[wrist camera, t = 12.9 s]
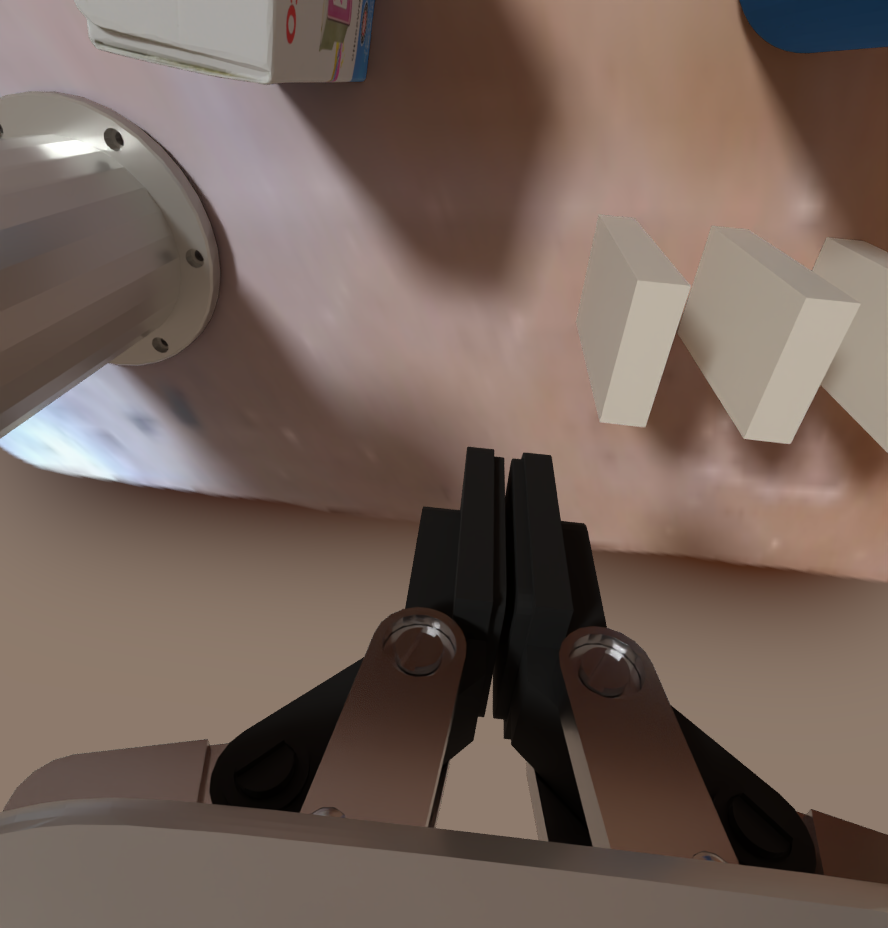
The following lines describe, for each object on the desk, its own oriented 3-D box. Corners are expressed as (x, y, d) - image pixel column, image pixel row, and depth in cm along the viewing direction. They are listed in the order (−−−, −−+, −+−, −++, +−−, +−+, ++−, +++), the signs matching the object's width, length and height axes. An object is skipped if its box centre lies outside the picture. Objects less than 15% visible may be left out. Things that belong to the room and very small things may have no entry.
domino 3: (780, 343, 28) (890, 455, 20) (826, 237, 25) (979, 315, 17) (813, 347, 28) (937, 461, 20) (864, 241, 25) (1035, 321, 17)
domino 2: (677, 332, 28) (743, 438, 20) (711, 225, 25) (806, 297, 17) (709, 336, 28) (790, 444, 20) (748, 229, 25) (860, 303, 17)
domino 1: (575, 321, 28) (599, 422, 20) (598, 214, 25) (637, 280, 17) (608, 325, 28) (645, 427, 20) (634, 218, 25) (690, 285, 17)
